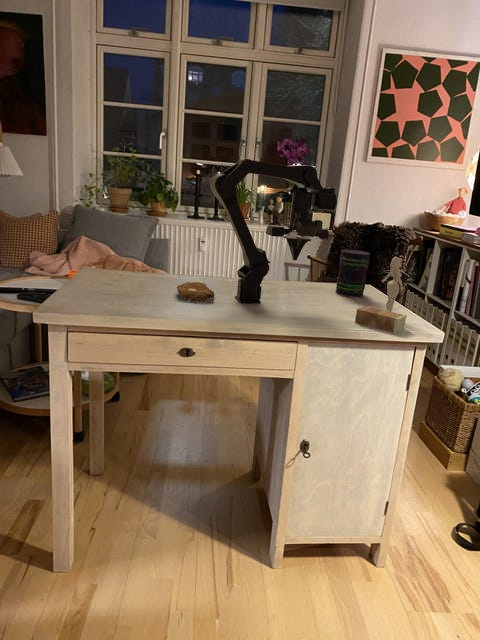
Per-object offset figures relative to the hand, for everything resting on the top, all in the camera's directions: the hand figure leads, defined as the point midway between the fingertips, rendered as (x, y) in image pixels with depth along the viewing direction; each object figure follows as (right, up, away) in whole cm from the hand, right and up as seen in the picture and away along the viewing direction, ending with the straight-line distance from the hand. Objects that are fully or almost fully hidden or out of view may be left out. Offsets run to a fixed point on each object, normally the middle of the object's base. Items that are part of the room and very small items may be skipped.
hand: (294, 260), depth 156 cm
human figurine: (+27, -18, -4) cm, 33 cm away
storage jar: (+21, -9, +22) cm, 32 cm away
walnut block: (+17, -17, -12) cm, 27 cm away
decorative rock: (-31, -12, -1) cm, 33 cm away
